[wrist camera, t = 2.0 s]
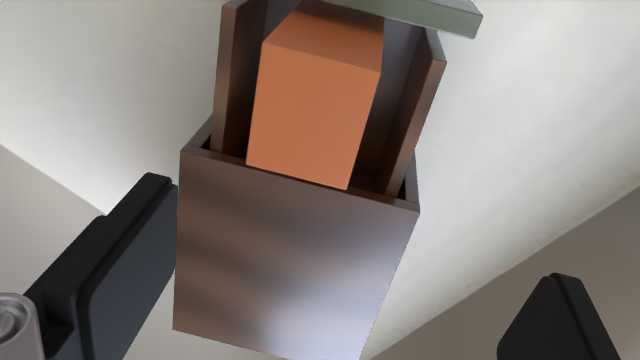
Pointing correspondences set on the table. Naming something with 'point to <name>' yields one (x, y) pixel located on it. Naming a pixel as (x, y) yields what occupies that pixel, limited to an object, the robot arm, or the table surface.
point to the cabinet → (283, 256)
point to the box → (315, 92)
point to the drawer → (391, 93)
